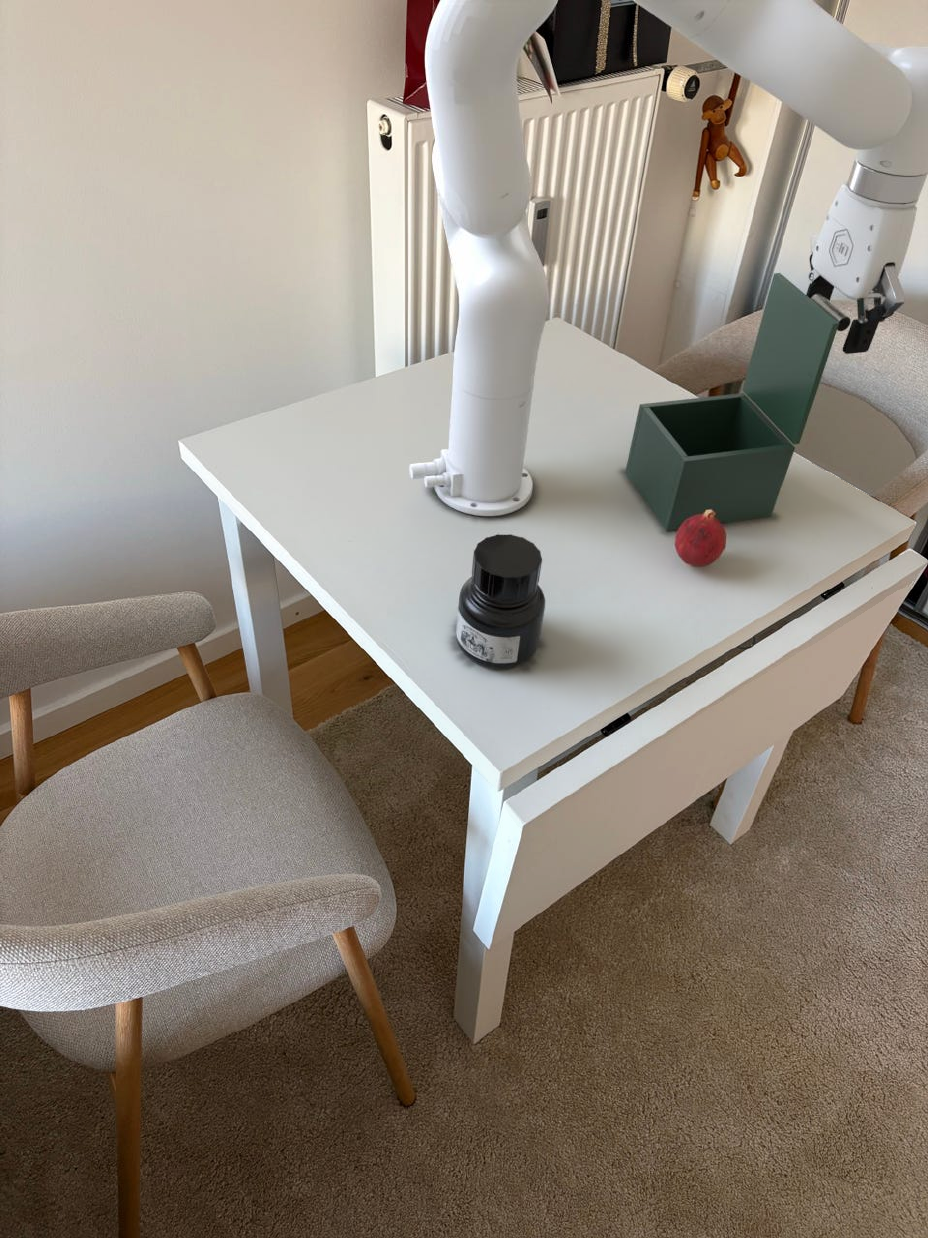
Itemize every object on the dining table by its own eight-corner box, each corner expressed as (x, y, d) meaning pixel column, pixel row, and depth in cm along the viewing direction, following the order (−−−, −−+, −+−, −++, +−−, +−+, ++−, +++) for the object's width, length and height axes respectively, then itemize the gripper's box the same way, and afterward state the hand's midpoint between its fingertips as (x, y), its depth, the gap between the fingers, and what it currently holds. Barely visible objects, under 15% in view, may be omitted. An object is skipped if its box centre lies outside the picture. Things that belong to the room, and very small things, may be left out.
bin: (666, 531, 122) (684, 461, 115) (624, 472, 131) (639, 403, 123) (771, 516, 126) (795, 447, 118) (723, 460, 134) (743, 392, 127)
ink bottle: (436, 636, 106) (441, 549, 98) (493, 600, 110) (503, 514, 102) (501, 686, 101) (512, 600, 93) (558, 646, 106) (574, 561, 98)
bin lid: (833, 323, 107) (874, 319, 108) (773, 273, 116) (812, 269, 117) (793, 444, 118) (831, 439, 119) (742, 389, 127) (777, 385, 128)
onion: (706, 587, 115) (723, 533, 109) (661, 568, 117) (675, 514, 111) (724, 561, 118) (742, 508, 113) (680, 543, 120) (695, 490, 115)
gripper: (811, 154, 110) (768, 301, 121) (904, 215, 98) (846, 372, 110) (868, 152, 111) (820, 297, 123) (967, 212, 100) (903, 366, 111)
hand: (832, 332), depth 116 cm, fingers open, 8 cm apart
